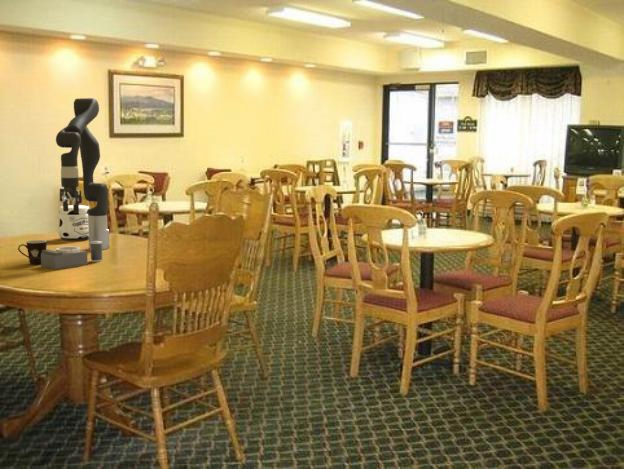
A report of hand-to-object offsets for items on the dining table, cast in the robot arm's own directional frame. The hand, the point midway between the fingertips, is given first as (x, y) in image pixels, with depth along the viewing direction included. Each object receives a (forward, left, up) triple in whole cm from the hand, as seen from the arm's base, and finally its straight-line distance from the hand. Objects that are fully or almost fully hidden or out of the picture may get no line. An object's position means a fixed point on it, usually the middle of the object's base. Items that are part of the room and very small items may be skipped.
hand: (70, 212), depth 324 cm
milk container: (-38, -55, -23) cm, 70 cm away
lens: (-7, +8, -23) cm, 25 cm away
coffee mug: (+15, -7, -23) cm, 28 cm away
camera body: (+9, +7, -23) cm, 25 cm away
